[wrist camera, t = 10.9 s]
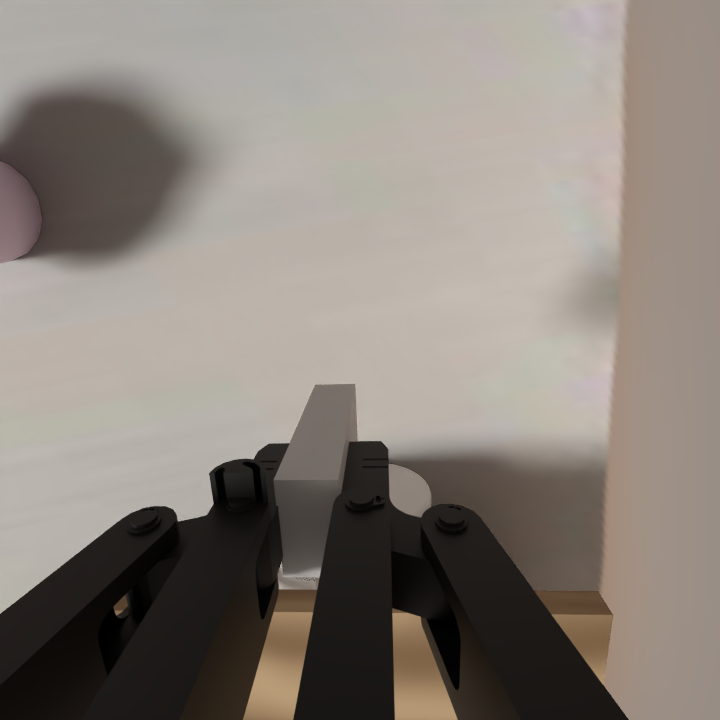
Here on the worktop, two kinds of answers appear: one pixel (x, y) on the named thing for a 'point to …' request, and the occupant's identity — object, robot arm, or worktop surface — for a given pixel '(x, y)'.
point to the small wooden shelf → (402, 653)
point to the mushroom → (17, 214)
